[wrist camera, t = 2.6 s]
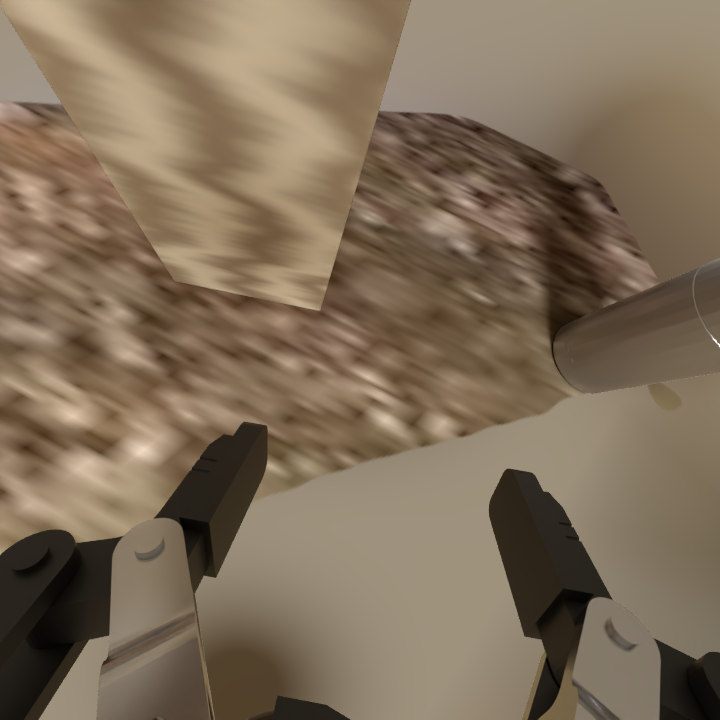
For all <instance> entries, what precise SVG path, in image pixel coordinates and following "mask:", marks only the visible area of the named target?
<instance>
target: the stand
mask: <svg viewBox="0 0 720 720" xmlns="http://www.w3.org/2000/svg"><path fill="white" fill-rule="evenodd" d="M410 2H411V0H0V7H1V9H2V10H3V12H4V13H5V15H6V17H7V18H8V20H9V21H10V23H11V24H12V26H13V27H14V29H15V31H16V32H17V34H18V35H19V37H20V39H21V40H22V42H23V43H24V45H25V46H26V48H27V49H28V51H29V53H30V54H31V56H32V57H33V59H34V61H35V62H36V64H37V65H38V67H39V69H40V70H41V72H42V73H43V75H44V76H45V78H46V80H47V81H48V83H49V84H50V86H51V87H52V89H53V91H54V92H55V94H56V95H57V97H58V98H59V100H60V102H61V103H62V105H63V106H64V108H65V110H66V111H67V113H68V114H69V116H70V117H71V119H72V121H73V122H74V124H75V125H76V127H77V128H78V130H79V132H80V133H81V135H82V136H83V138H84V139H85V141H86V143H87V144H88V146H89V147H90V149H91V150H92V152H93V154H94V155H95V157H96V158H97V160H98V161H99V163H100V165H101V166H102V168H103V169H104V171H105V173H106V174H107V176H108V177H109V179H110V180H111V182H112V184H113V185H114V187H115V188H116V190H117V191H118V193H119V195H120V196H121V198H122V199H123V201H124V202H125V204H126V206H127V207H128V209H129V210H130V212H131V213H132V215H133V217H134V218H135V220H136V221H137V223H138V225H139V226H140V228H141V229H142V231H143V232H144V234H145V236H146V237H147V239H148V240H149V242H150V243H151V245H152V247H153V248H154V250H155V251H156V253H157V254H158V256H159V258H160V259H161V261H162V262H163V264H164V265H165V267H166V269H167V270H168V272H169V273H170V275H171V277H172V278H173V280H174V281H176V282H181V283H186V284H191V285H196V286H201V287H206V288H211V289H215V290H220V291H225V292H230V293H235V294H240V295H245V296H250V297H255V298H259V299H264V300H269V301H274V302H279V303H284V304H289V305H294V306H299V307H303V308H308V309H313V310H318V311H320V309H321V306H322V302H323V299H324V296H325V292H326V289H327V285H328V282H329V279H330V275H331V272H332V268H333V265H334V261H335V258H336V255H337V251H338V248H339V244H340V241H341V238H342V234H343V231H344V227H345V224H346V221H347V217H348V214H349V210H350V207H351V204H352V200H353V197H354V193H355V190H356V187H357V183H358V180H359V176H360V173H361V169H362V166H363V163H364V159H365V156H366V152H367V149H368V146H369V142H370V139H371V135H372V132H373V129H374V125H375V122H376V118H377V115H378V112H379V108H380V105H381V101H382V98H383V94H384V91H385V88H386V84H387V81H388V77H389V74H390V70H391V67H392V64H393V60H394V57H395V54H396V50H397V47H398V43H399V40H400V37H401V33H402V30H403V26H404V23H405V20H406V16H407V13H408V9H409V6H410Z"/></svg>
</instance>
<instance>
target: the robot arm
mask: <svg viewBox="0 0 720 720" xmlns="http://www.w3.org/2000/svg"><path fill="white" fill-rule="evenodd" d="M553 352H554V358H555V361H556V364H557V366H558V368H559V370H560V372H561V374H562V375H563V376H564V378H565V379H566V380H567V381H568V382H569V383H570V384H571V385H572V386H574V387H575V388H577V389H578V390H580V391H583V392H585V393H591V394H593V393H601V392H607V391H613V390H619V389H625V388H632V387H637V386H643V385H649V384H655V383H661V382H667V381H672V380H678V379H683V378H690V377H695V376H702V375H707V374H713V373H719V372H720V258H719V259H716V260H714V261H712V262H709V263H707V264H705V265H703V266H701V267H698V268H696V269H693V270H691V271H689V272H687V273H684V274H682V275H679V276H677V277H675V278H673V279H670V280H668V281H665V282H663V283H661V284H658V285H656V286H654V287H651V288H649V289H647V290H644V291H642V292H640V293H637V294H635V295H633V296H630V297H628V298H626V299H623V300H621V301H619V302H616V303H614V304H612V305H609V306H607V307H605V308H602V309H600V310H598V311H595V312H593V313H590V314H588V315H586V316H584V317H581V318H579V319H577V320H574V321H572V322H570V323H567V324H565V325H564V326H562V327H561V328H560V329H559V330H558V332H557V334H556V336H555V339H554V343H553ZM266 465H267V426H266V425H261V424H255V423H249V422H243V423H242V424H241V425H240V427H239V428H238V430H237V431H236V433H235V434H234V436H230V435H222V436H221V437H220V438H218V439H217V440H215V441H214V442H212V443H211V444H210V445H209V446H208V447H207V449H206V450H205V451H204V453H203V454H202V455H201V457H200V459H199V460H198V461H197V462H196V463H195V465H194V466H193V467H192V470H191V471H190V472H189V473H188V474H187V476H186V477H185V478H184V480H183V481H182V482H181V484H180V485H179V486H178V488H177V489H176V490H175V492H174V493H173V494H172V496H171V497H170V499H169V500H168V501H167V503H166V504H165V505H164V507H163V508H162V509H161V511H160V512H159V513H158V514H157V516H156V517H155V518H154V519H152V520H148V521H146V522H143V523H141V524H139V525H137V526H136V527H134V528H133V529H131V530H130V531H129V532H128V533H126V534H125V535H124V536H122V537H118V538H112V539H105V540H97V541H90V542H82V543H76V542H75V540H74V538H73V536H72V535H71V534H70V533H69V532H66V531H63V530H47V531H43V532H39V533H36V534H33V535H31V536H28V537H26V538H24V539H22V540H20V541H19V542H17V543H15V544H14V545H12V546H11V547H9V548H8V549H7V550H5V551H4V552H3V553H2V554H1V555H0V720H38V719H39V718H40V716H41V715H42V713H43V712H44V710H45V708H46V707H47V705H48V704H49V702H50V701H51V699H52V697H53V696H54V694H55V693H56V691H57V689H58V688H59V686H60V685H61V683H62V682H63V680H64V678H65V677H66V675H67V674H68V672H69V671H70V669H71V667H72V666H73V664H74V663H75V661H76V659H77V658H78V656H79V655H80V653H81V652H82V650H83V648H84V647H85V645H86V644H87V642H88V640H89V639H94V638H99V637H104V636H109V652H108V657H107V659H106V660H105V661H104V662H103V664H102V667H101V671H100V677H99V686H98V705H97V720H215V719H214V713H213V706H212V700H211V693H210V688H209V682H208V676H207V670H206V663H205V657H204V650H203V644H202V637H201V631H200V624H199V618H198V611H197V604H196V598H195V592H196V590H197V588H198V586H199V584H200V582H201V580H202V578H203V576H209V577H215V578H216V577H217V574H218V572H219V570H220V568H221V566H222V564H223V562H224V559H225V557H226V555H227V553H228V551H229V549H230V547H231V544H232V542H233V540H234V538H235V536H236V534H237V532H238V529H239V527H240V525H241V523H242V521H243V519H244V517H245V514H246V512H247V510H248V508H249V506H250V504H251V502H252V499H253V497H254V495H255V493H256V491H257V489H258V487H259V484H260V482H261V480H262V478H263V475H264V473H265V469H266ZM489 517H490V521H491V524H492V528H493V531H494V534H495V538H496V541H497V544H498V548H499V551H500V555H501V558H502V562H503V565H504V568H505V571H506V575H507V578H508V581H509V585H510V589H511V592H512V595H513V599H514V602H515V605H516V609H517V612H518V616H519V619H520V622H521V626H522V629H523V632H524V636H526V637H531V638H536V639H541V640H542V642H543V646H544V649H545V652H544V653H543V654H542V656H541V658H540V662H539V665H538V668H537V671H536V675H535V678H534V681H533V684H532V687H531V691H530V694H529V697H528V701H527V704H526V707H525V711H524V714H523V717H522V720H720V653H718V652H709V653H707V654H705V655H704V656H702V657H701V658H699V659H698V660H696V659H694V658H692V657H690V656H688V655H686V654H684V653H682V652H680V651H678V650H676V649H674V648H672V647H670V646H668V645H666V644H664V643H662V642H660V641H658V640H656V639H654V638H653V637H652V635H651V633H650V632H649V630H648V629H647V628H646V627H645V625H644V624H643V623H642V622H641V621H640V620H639V619H638V618H637V617H636V616H635V615H634V614H633V613H632V612H630V611H629V610H628V609H627V608H626V607H624V606H622V605H621V604H619V603H617V602H615V601H614V600H612V598H611V596H610V594H609V592H608V591H607V589H606V587H605V585H604V583H603V582H602V580H601V578H600V576H599V574H598V572H597V570H596V568H595V566H594V565H593V563H592V561H591V559H590V557H589V555H588V553H587V552H586V550H585V548H584V546H583V544H582V542H580V541H579V537H578V535H577V533H576V531H575V530H574V528H573V527H571V525H572V524H571V522H570V520H569V518H568V517H567V515H566V513H565V511H564V509H563V507H562V506H561V505H560V504H559V503H558V502H557V501H556V500H555V499H554V498H553V497H552V496H551V494H550V493H549V492H543V490H542V488H541V486H540V484H539V482H538V480H537V478H536V477H535V475H534V474H533V473H530V472H525V471H519V470H514V469H506V470H505V471H504V473H503V475H502V477H501V479H500V481H499V483H498V485H497V487H496V489H495V491H494V494H493V495H492V497H491V500H490V504H489ZM246 720H350V719H348V718H347V717H345V716H344V715H342V714H340V713H339V712H337V711H335V710H333V709H332V708H330V707H329V706H327V705H323V704H318V703H313V702H308V701H302V700H297V699H292V698H287V697H282V696H278V697H277V701H276V705H275V710H272V711H267V712H263V713H260V714H258V715H255V716H252V717H250V718H248V719H246Z"/></svg>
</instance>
